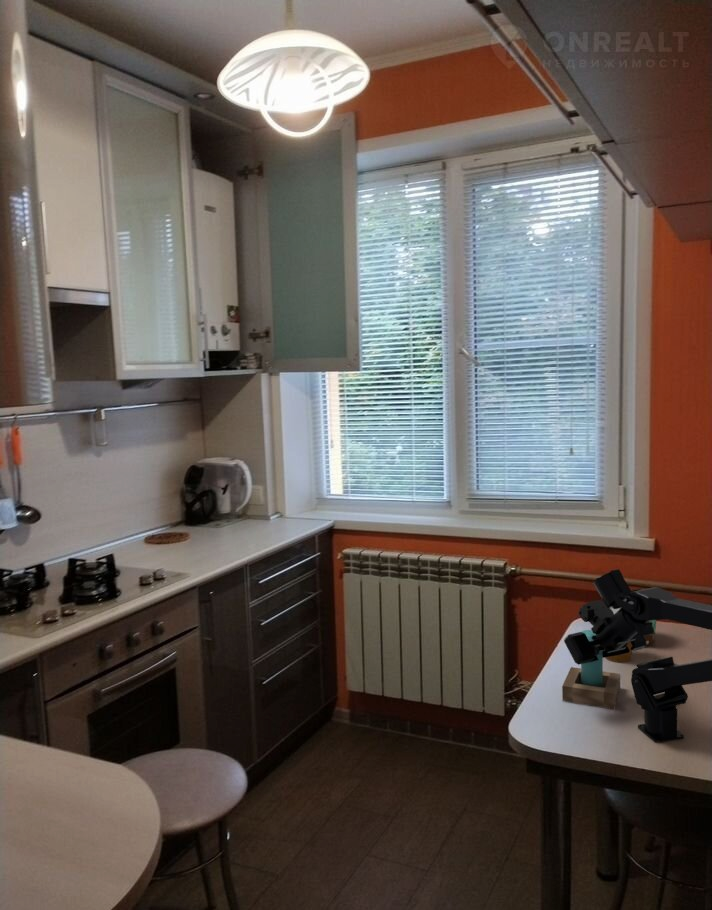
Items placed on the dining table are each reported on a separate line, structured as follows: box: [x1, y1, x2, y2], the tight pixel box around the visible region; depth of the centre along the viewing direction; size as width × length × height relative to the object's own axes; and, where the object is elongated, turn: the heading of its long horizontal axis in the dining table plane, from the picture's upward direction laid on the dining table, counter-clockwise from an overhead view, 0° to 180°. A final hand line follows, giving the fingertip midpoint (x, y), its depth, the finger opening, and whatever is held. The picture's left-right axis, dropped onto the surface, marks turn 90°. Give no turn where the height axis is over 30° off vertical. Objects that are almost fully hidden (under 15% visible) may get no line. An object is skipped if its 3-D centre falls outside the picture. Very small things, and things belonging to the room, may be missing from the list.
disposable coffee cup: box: [605, 607, 633, 663], centre depth 184 cm, size 10×10×12 cm
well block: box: [561, 666, 621, 710], centre depth 165 cm, size 11×11×4 cm
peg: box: [580, 629, 604, 688], centre depth 164 cm, size 5×5×13 cm
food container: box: [644, 620, 657, 648], centre depth 195 cm, size 12×6×10 cm, turn 168°
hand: (587, 658), depth 165 cm, fingers open, 5 cm apart
